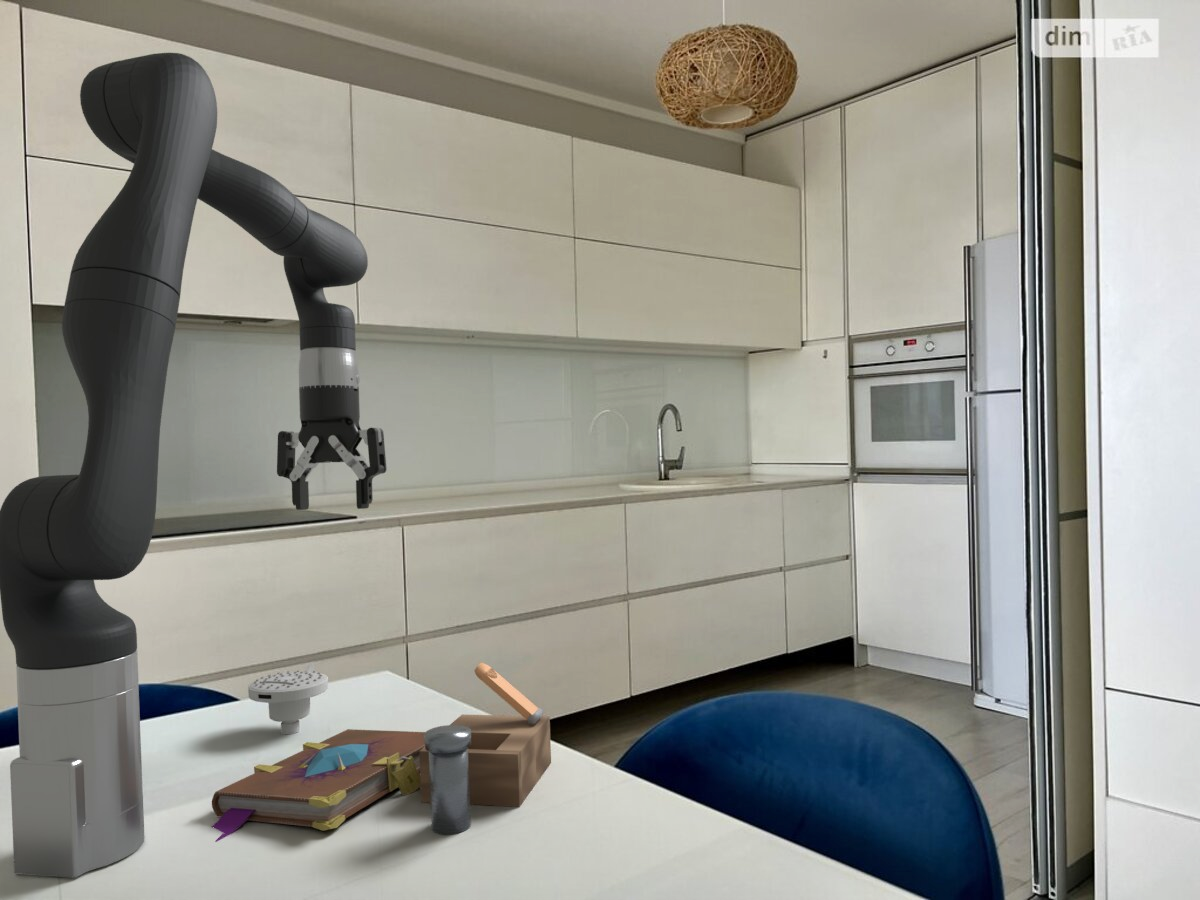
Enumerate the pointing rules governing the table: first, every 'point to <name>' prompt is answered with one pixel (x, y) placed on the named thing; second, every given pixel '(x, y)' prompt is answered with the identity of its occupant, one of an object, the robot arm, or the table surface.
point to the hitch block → (499, 758)
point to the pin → (449, 778)
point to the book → (323, 781)
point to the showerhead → (288, 695)
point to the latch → (508, 693)
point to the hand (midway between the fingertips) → (332, 509)
